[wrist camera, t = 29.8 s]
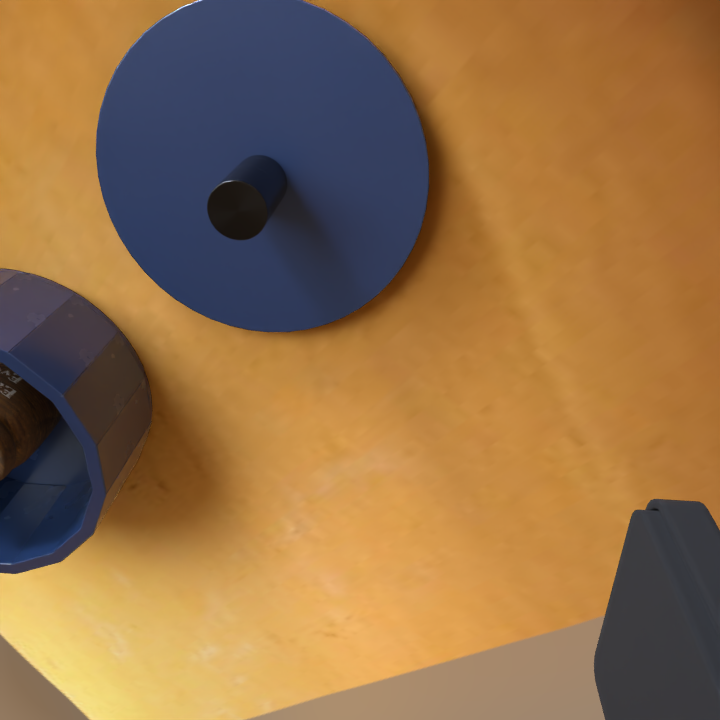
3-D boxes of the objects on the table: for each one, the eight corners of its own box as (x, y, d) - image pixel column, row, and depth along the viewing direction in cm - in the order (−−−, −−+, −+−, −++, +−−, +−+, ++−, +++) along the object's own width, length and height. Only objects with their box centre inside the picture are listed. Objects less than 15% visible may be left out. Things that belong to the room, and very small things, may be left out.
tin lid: (78, -12, 34) (6, -13, 28) (440, -5, 33) (445, -4, 27) (129, 317, 42) (82, 370, 36) (419, 330, 41) (419, 387, 35)
